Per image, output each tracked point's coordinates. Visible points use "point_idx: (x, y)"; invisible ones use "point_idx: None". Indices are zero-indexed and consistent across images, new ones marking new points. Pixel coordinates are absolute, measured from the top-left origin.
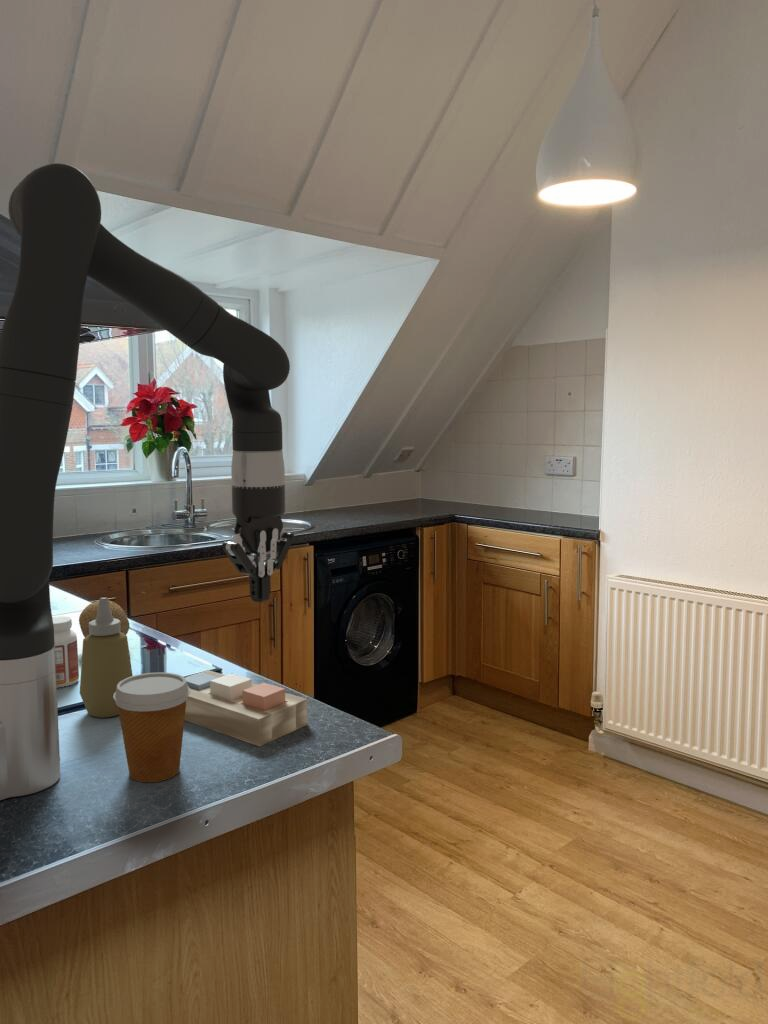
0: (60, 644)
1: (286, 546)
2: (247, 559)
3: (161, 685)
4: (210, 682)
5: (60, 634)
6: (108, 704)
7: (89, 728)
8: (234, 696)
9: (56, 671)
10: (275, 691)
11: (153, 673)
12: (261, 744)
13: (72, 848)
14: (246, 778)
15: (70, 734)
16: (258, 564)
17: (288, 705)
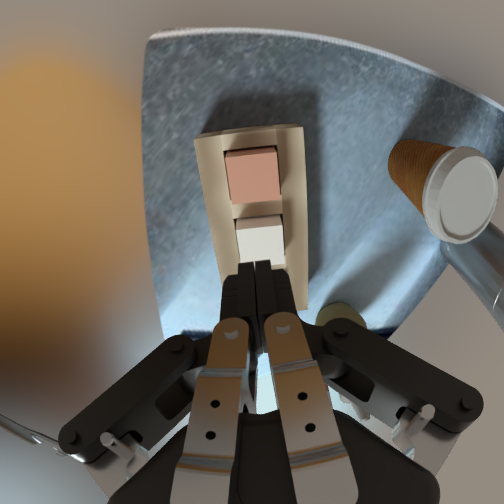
0: None
1: (110, 410)
2: (390, 368)
3: (464, 191)
4: (284, 261)
5: None
6: (352, 310)
7: (371, 293)
8: (272, 218)
9: (324, 384)
10: (246, 158)
11: (445, 233)
12: (291, 123)
13: (497, 116)
14: (363, 72)
15: (388, 291)
16: (310, 355)
17: (233, 137)
